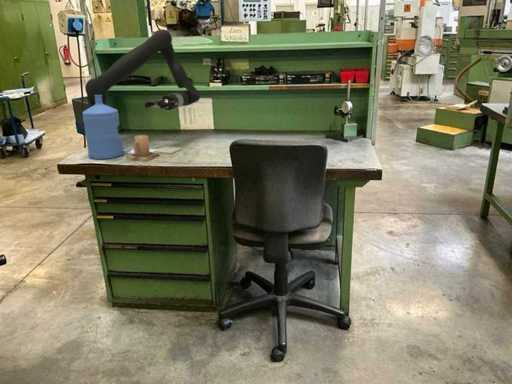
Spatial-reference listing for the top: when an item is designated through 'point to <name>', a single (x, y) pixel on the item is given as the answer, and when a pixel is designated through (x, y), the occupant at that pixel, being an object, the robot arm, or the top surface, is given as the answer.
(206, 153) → the top surface
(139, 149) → the pillar candle
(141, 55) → the robot arm
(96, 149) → the water jug
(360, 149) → the top surface
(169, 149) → the mat
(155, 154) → the wooden frame
